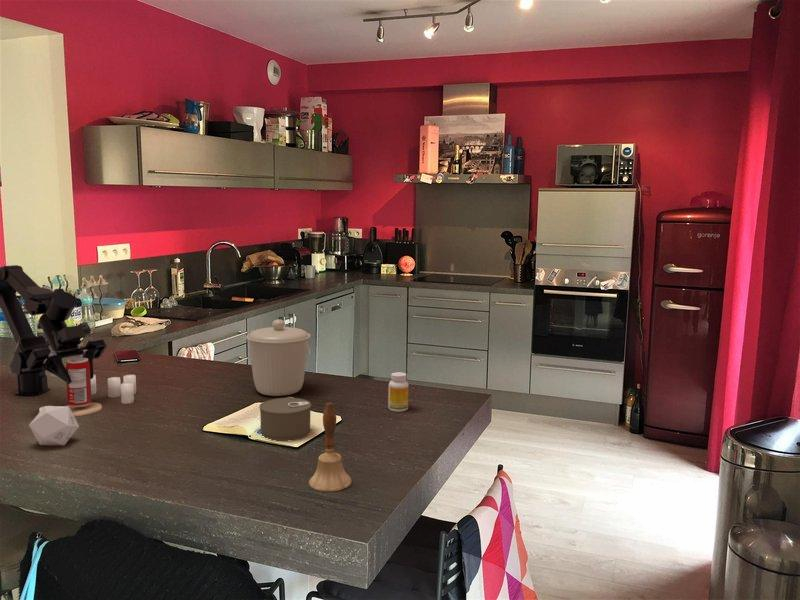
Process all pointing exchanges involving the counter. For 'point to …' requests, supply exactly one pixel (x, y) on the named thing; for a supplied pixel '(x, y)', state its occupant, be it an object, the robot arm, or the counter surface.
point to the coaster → (86, 409)
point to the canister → (278, 358)
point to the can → (285, 418)
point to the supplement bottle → (398, 392)
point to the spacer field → (117, 388)
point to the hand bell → (329, 459)
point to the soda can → (78, 382)
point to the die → (54, 425)
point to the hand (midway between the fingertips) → (81, 380)
